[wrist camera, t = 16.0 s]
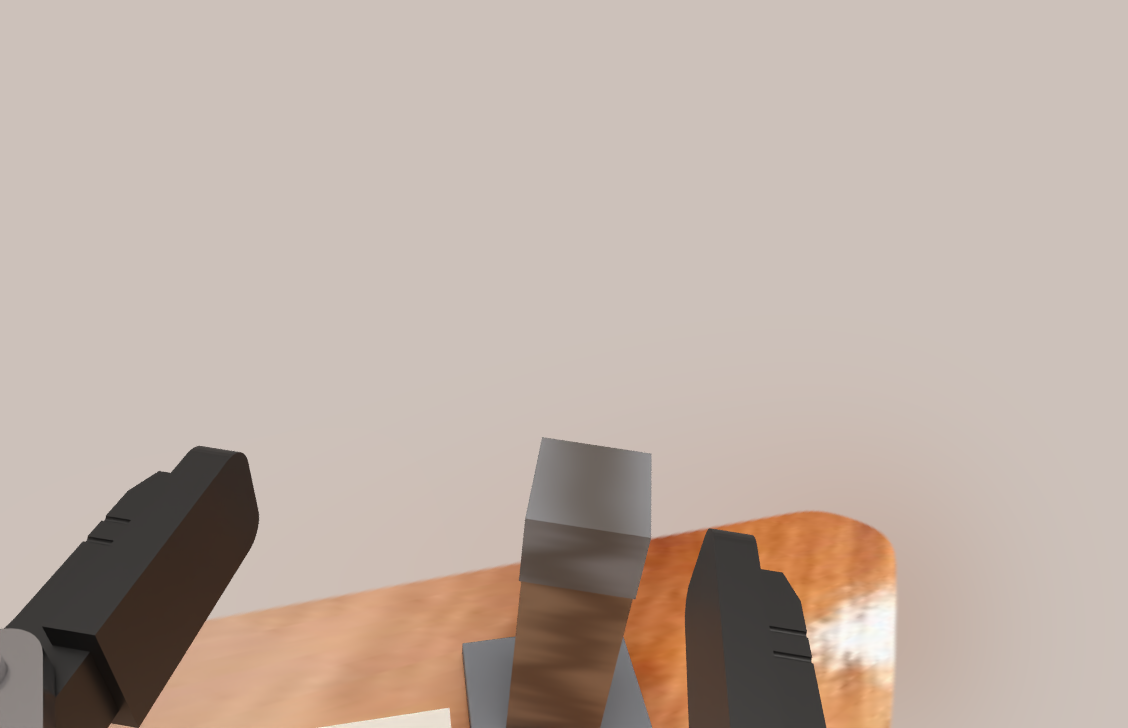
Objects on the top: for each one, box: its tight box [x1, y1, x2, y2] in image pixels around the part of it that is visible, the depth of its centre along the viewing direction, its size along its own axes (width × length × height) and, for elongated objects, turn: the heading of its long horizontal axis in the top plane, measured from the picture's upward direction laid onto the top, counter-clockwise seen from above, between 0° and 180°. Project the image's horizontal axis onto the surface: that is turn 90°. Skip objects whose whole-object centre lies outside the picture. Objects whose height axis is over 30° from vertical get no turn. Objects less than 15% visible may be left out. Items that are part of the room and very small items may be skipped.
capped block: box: [506, 437, 651, 728], centre depth 35 cm, size 5×5×17 cm
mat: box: [462, 637, 652, 728], centre depth 40 cm, size 10×8×1 cm
